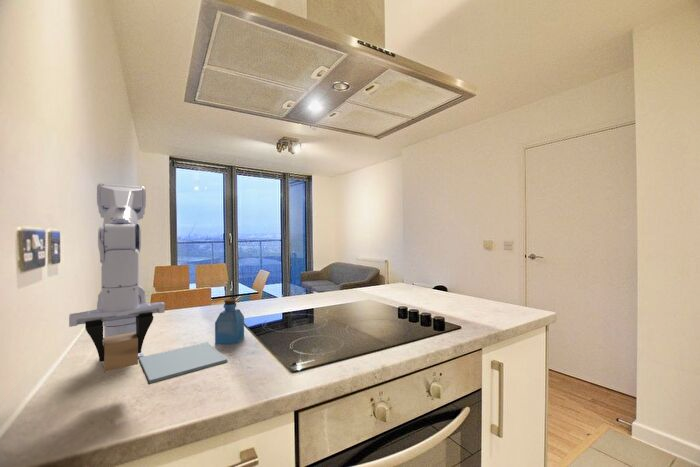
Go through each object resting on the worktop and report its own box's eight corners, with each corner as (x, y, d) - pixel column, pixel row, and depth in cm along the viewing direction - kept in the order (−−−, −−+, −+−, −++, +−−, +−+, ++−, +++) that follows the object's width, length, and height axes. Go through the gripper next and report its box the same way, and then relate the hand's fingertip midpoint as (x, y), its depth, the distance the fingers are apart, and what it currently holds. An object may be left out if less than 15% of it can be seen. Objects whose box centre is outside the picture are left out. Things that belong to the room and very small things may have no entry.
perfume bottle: (244, 336, 92) (243, 297, 92) (237, 343, 86) (236, 301, 86) (223, 337, 92) (223, 297, 92) (215, 344, 85) (214, 302, 86)
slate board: (139, 359, 75) (139, 357, 75) (207, 344, 85) (207, 342, 85) (149, 383, 63) (149, 380, 63) (227, 361, 73) (227, 359, 73)
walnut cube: (103, 363, 58) (103, 337, 58) (134, 356, 62) (134, 332, 62) (104, 372, 55) (104, 344, 55) (137, 364, 58) (137, 338, 58)
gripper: (68, 293, 50) (68, 374, 50) (167, 283, 60) (167, 351, 60) (70, 288, 56) (69, 361, 56) (161, 280, 65) (161, 342, 65)
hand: (120, 355), depth 58 cm, fingers closed on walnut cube, 5 cm apart
